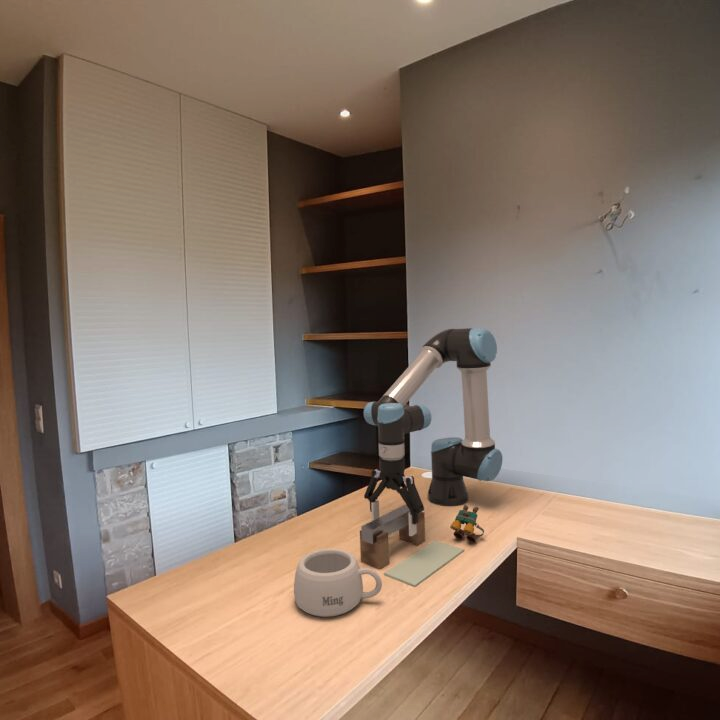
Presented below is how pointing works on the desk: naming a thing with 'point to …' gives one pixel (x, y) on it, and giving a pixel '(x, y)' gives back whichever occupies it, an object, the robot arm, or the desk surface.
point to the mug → (331, 582)
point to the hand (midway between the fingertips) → (393, 528)
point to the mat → (423, 563)
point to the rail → (386, 524)
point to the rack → (379, 551)
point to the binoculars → (469, 520)
